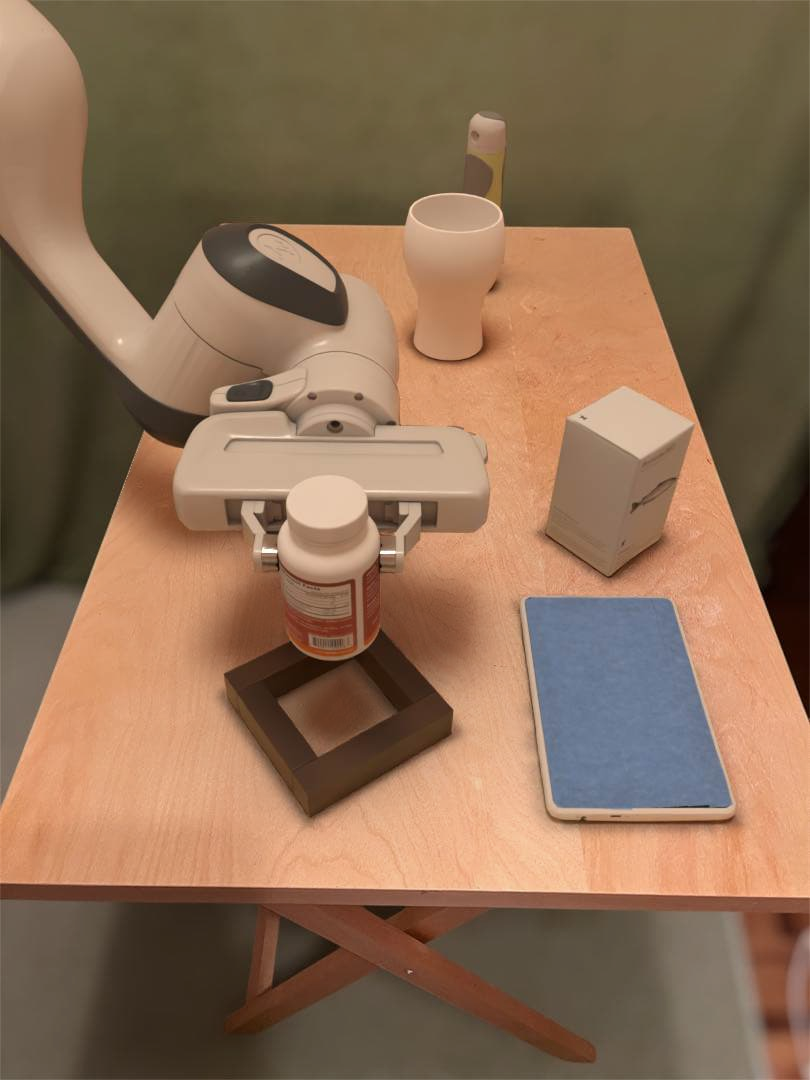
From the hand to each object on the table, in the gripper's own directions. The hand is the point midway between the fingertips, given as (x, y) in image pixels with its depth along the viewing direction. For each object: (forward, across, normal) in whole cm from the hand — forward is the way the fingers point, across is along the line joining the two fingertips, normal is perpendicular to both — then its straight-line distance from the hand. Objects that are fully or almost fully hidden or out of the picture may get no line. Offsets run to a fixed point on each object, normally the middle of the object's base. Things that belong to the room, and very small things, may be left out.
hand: (328, 565), depth 54 cm
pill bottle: (-1, 0, -7) cm, 7 cm away
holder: (0, 0, -15) cm, 15 cm away
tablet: (-2, -20, -16) cm, 26 cm away
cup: (-51, -10, -16) cm, 54 cm away
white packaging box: (-19, -22, -16) cm, 33 cm away
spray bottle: (-64, -14, -16) cm, 68 cm away
